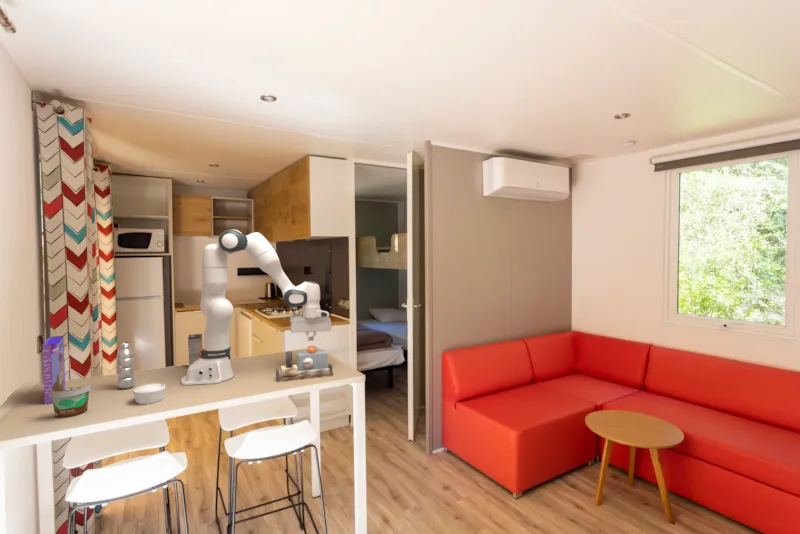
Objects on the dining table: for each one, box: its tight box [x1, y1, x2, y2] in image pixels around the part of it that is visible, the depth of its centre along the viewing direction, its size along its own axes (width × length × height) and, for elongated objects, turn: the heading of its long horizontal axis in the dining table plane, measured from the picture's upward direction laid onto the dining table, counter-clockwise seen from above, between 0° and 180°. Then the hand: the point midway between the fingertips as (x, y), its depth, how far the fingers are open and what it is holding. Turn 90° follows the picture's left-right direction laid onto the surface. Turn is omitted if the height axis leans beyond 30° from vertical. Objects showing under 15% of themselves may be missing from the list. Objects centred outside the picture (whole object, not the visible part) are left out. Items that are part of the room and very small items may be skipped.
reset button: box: [307, 345, 317, 354], centre depth 206 cm, size 4×4×3 cm
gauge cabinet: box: [296, 349, 328, 371], centre depth 206 cm, size 14×9×9 cm, turn 111°
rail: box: [275, 363, 334, 383], centre depth 196 cm, size 26×7×4 cm, turn 111°
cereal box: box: [42, 335, 66, 405], centre depth 169 cm, size 17×5×24 cm, turn 34°
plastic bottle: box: [116, 341, 136, 389], centre depth 180 cm, size 6×7×20 cm
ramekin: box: [132, 383, 166, 405], centre depth 165 cm, size 11×11×5 cm
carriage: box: [280, 351, 298, 377], centre depth 193 cm, size 7×6×11 cm
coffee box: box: [187, 333, 203, 367], centre depth 214 cm, size 9×6×16 cm
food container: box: [49, 383, 92, 419], centre depth 150 cm, size 12×6×10 cm, turn 126°
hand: (310, 340), depth 206 cm, fingers closed
